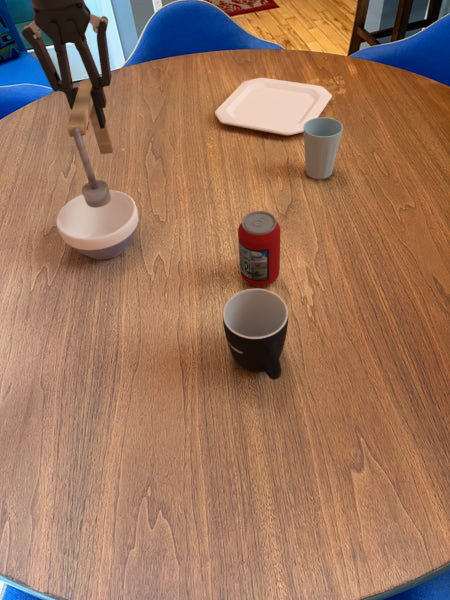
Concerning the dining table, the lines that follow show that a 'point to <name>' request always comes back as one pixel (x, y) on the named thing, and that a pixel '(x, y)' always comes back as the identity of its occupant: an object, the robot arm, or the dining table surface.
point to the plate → (273, 105)
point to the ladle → (77, 126)
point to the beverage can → (259, 248)
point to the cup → (321, 146)
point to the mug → (256, 330)
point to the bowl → (99, 225)
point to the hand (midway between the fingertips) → (94, 125)
